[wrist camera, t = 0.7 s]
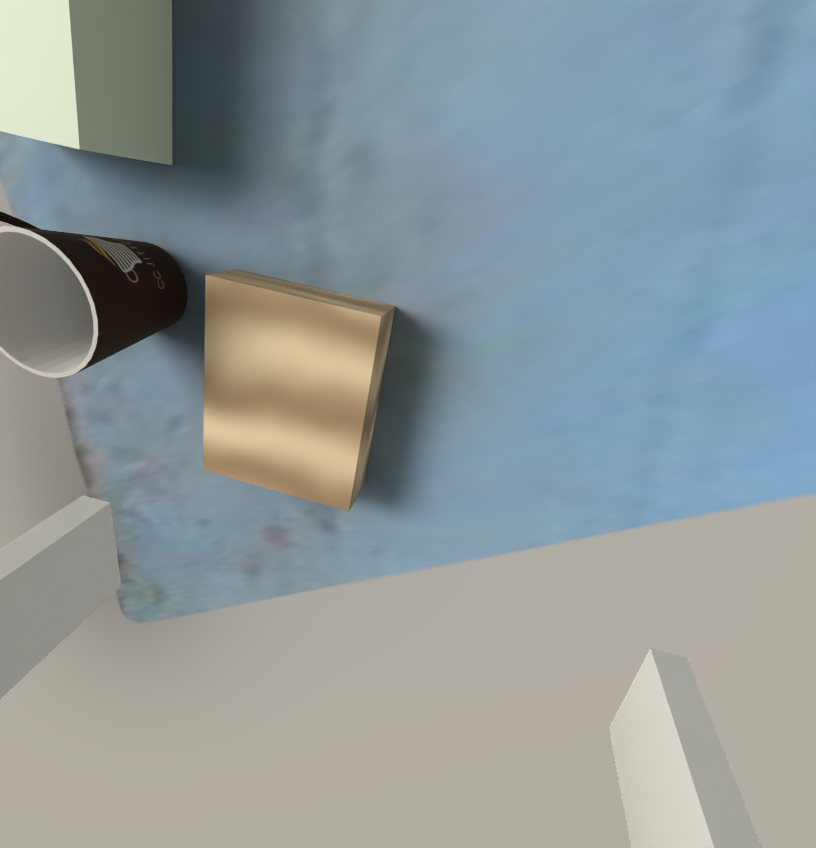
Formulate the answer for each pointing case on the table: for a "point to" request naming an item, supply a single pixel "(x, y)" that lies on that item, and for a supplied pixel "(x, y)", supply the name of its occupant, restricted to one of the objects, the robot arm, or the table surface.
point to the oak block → (291, 385)
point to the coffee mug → (80, 296)
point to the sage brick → (89, 75)
